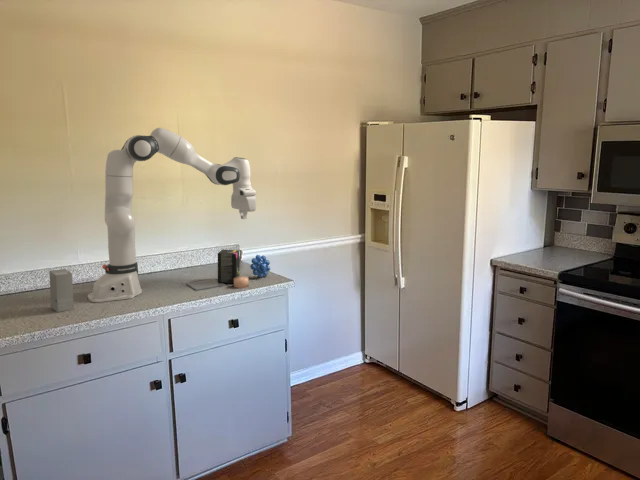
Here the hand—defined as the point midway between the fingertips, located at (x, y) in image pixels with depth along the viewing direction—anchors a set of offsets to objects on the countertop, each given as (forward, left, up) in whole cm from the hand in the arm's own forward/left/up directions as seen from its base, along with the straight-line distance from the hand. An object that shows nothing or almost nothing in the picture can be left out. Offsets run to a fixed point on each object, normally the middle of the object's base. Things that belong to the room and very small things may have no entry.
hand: (243, 219), depth 239 cm
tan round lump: (-8, -12, -30) cm, 34 cm away
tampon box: (-9, -1, -30) cm, 31 cm away
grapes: (+7, -5, -30) cm, 31 cm away
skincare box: (-82, 0, -30) cm, 88 cm away
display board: (-21, -1, -30) cm, 37 cm away
